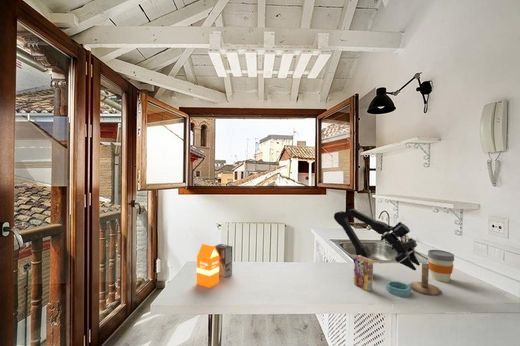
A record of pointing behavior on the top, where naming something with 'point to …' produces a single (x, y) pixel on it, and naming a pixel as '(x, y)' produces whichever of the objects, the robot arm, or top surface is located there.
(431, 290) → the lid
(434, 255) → the reusable coffee cup
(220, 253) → the coffee box
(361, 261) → the candy box
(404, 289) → the bowl
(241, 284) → the top surface
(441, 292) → the mat
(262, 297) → the top surface
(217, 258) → the orange juice
